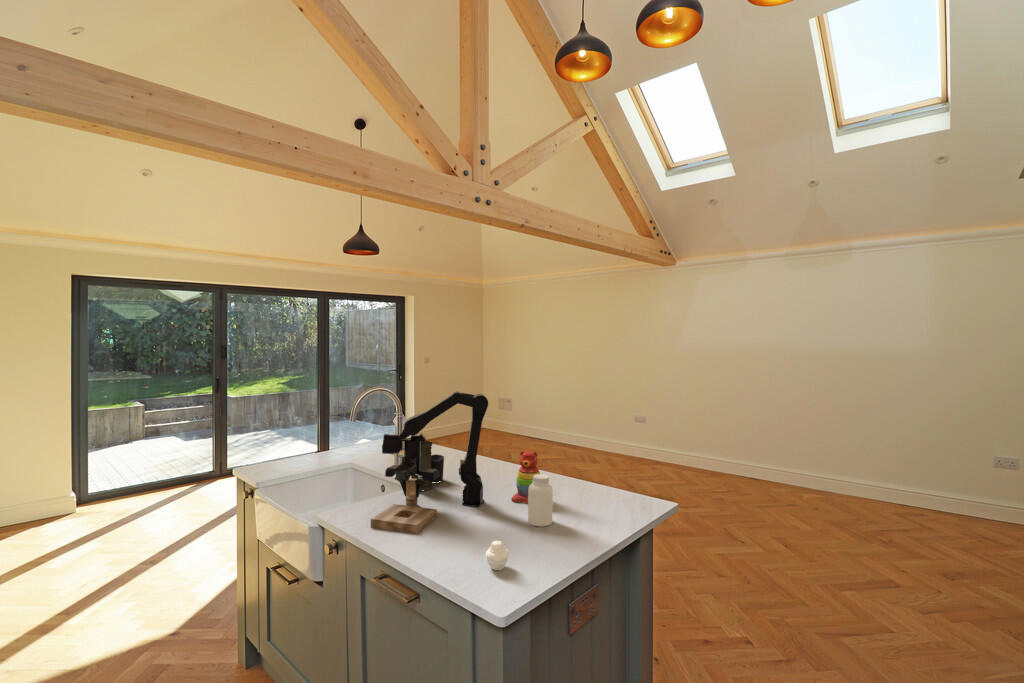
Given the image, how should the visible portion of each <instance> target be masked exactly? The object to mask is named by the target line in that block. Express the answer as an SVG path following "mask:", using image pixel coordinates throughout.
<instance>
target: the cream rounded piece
mask: <svg viewBox="0 0 1024 683" xmlns="http://www.w3.org/2000/svg"><path fill="white" fill-rule="evenodd" d="M509 556H510V552H509V550H508V548H506V547H505V544H504V542H503V541H501V540H494V541H492V542H491V543H490V547H489V548H488V549H487V550H486V552H485V558H486V561H487V563H488V566H489V567H490V569H491V570H492V569H494V570H499V571H502V570H503V569H505V568H504V567H505V566H506V564H507V562H508V560H509ZM501 569H502V570H501ZM494 570H493V571H494Z"/></svg>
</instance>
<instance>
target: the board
mask: <svg viewBox="0 0 1024 683" xmlns="http://www.w3.org/2000/svg"><path fill="white" fill-rule="evenodd" d="M437 512H438V511H437V509H436V508H429V507H420V506H416V507H414V506H406V504H405V505H404V504H396V503H393V504H392V505H390V506H388V507H387V508H385V509H384V510H383V511H380V512H379V513H377V514H376V515H374V516H372V517H371V518H370V527H371V528H376V529H382V528H383V529H384V530H389V531H391V530H392V531H397V532H405V533H412V534H418V533H419V532H420V531H421V530H423V529H424V528H425V527H427V525H429V524H430V523H431V522H432V521H433V520H434V519H436V518H437Z"/></svg>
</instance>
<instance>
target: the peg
mask: <svg viewBox="0 0 1024 683" xmlns="http://www.w3.org/2000/svg"><path fill="white" fill-rule="evenodd" d="M415 480H417V479H411V478H409V479H408V480H406V497H405V505H406V506H414V507H418V502H419V501H418V498H419V497H418V498H416V482H415Z"/></svg>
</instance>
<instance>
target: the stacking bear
mask: <svg viewBox="0 0 1024 683" xmlns="http://www.w3.org/2000/svg"><path fill="white" fill-rule="evenodd" d="M538 459H539V458H538V453H537V451H535V452H532V451H526V452H525V451H521V452H520V457H519V464H520V467H519V469H518V471H517V475H516V480H515V481H516V482H515V484H516V485H515V486H516V489H517V492H516V493H515V494H514V495H513V496H512V497H511V499H510V500H511V502H513V503H516V502H525V503H524V504H528V488H529V486H530V485H531V484H532V483H533V482H532V481H533V476H534V475H537V474H541V473H540V470H539V468H538V466H537V465H538V461H539V460H538Z"/></svg>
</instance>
